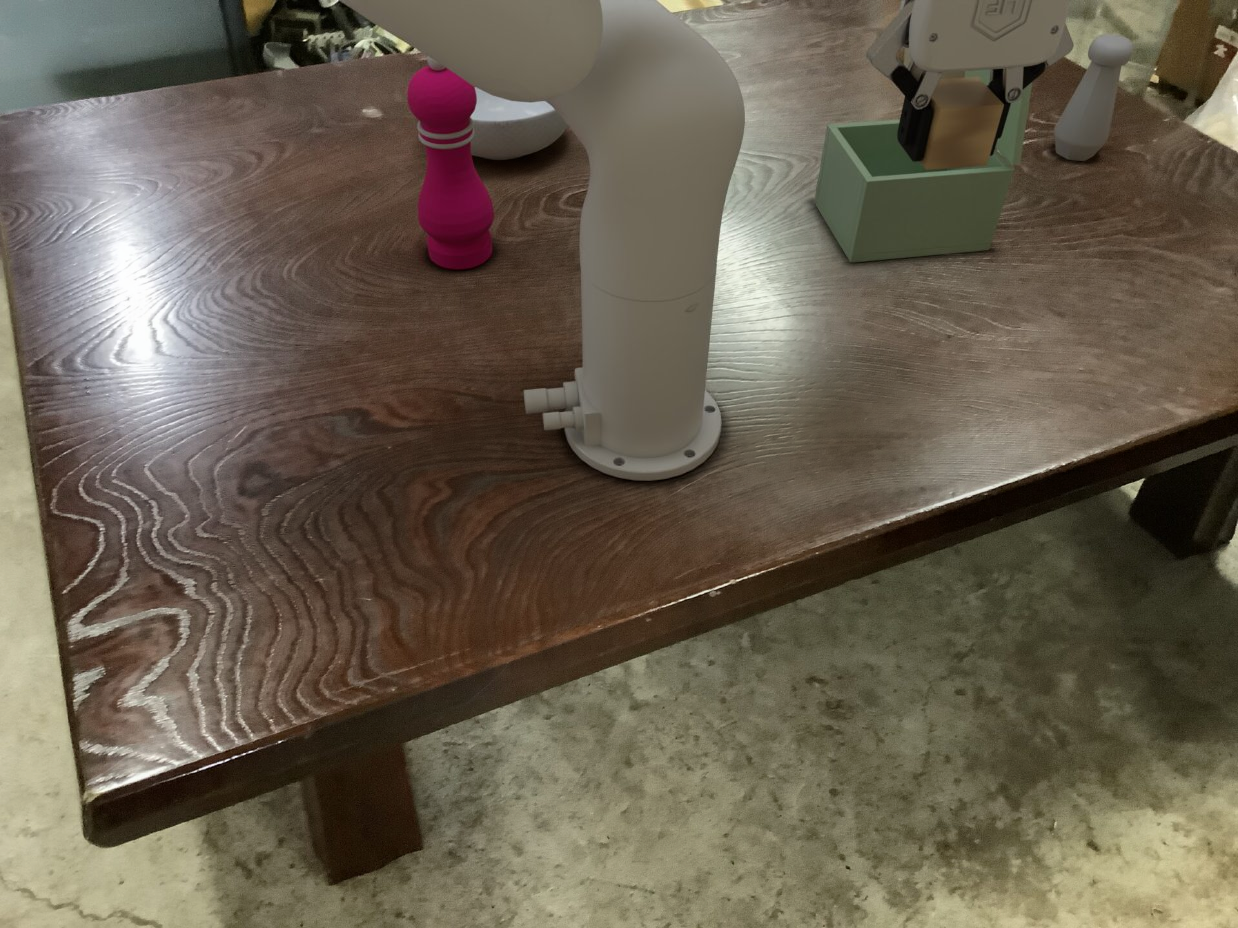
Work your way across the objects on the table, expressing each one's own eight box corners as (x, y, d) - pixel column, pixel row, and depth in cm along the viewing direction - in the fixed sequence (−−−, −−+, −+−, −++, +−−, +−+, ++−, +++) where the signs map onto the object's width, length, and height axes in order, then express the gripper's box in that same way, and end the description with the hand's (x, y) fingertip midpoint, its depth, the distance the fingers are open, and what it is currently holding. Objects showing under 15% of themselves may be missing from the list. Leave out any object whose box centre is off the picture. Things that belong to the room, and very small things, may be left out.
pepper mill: (444, 281, 93) (415, 74, 79) (411, 246, 98) (379, 44, 84) (510, 258, 96) (494, 55, 82) (476, 225, 101) (455, 26, 86)
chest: (850, 263, 96) (867, 181, 90) (813, 203, 104) (827, 124, 98) (989, 250, 98) (1015, 169, 92) (942, 192, 106) (963, 114, 100)
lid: (1036, -3, 81) (1045, -5, 81) (976, -49, 89) (984, -51, 89) (1012, 166, 92) (1020, 164, 92) (961, 111, 100) (968, 109, 100)
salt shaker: (1103, 167, 111) (1148, 52, 101) (1050, 162, 111) (1090, 47, 102) (1096, 143, 115) (1138, 30, 106) (1045, 138, 116) (1083, 26, 106)
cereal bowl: (408, 172, 108) (398, 110, 103) (452, 106, 120) (446, 48, 115) (557, 187, 106) (555, 125, 101) (588, 119, 118) (587, 60, 113)
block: (926, 170, 71) (940, 109, 67) (904, 140, 74) (917, 80, 70) (987, 166, 71) (1004, 104, 68) (962, 136, 74) (978, 76, 71)
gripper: (901, -106, 56) (849, 184, 69) (1179, -119, 58) (1077, 167, 70) (860, -141, 61) (819, 134, 74) (1116, -153, 63) (1032, 119, 76)
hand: (946, 147), depth 72 cm, fingers closed on block, 4 cm apart
